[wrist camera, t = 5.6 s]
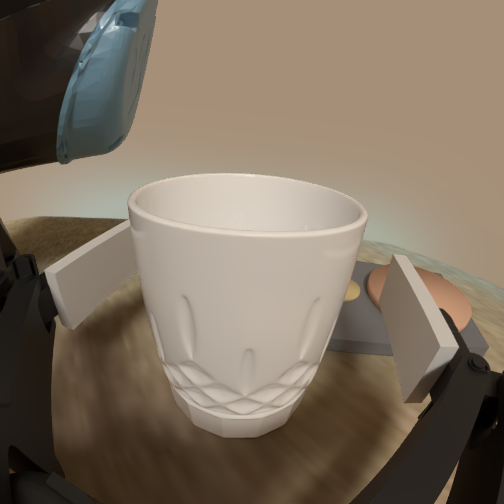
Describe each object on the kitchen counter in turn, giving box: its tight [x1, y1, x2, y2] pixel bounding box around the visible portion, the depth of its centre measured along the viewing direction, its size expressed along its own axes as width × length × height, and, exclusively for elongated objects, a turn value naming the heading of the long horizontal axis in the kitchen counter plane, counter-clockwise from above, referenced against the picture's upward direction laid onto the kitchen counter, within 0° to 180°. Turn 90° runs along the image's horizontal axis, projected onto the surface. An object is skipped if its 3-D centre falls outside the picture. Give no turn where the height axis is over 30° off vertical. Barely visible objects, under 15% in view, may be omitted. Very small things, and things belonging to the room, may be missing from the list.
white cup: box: [128, 173, 368, 438], centre depth 11 cm, size 8×8×10 cm
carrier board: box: [326, 261, 489, 357], centre depth 20 cm, size 15×12×2 cm
